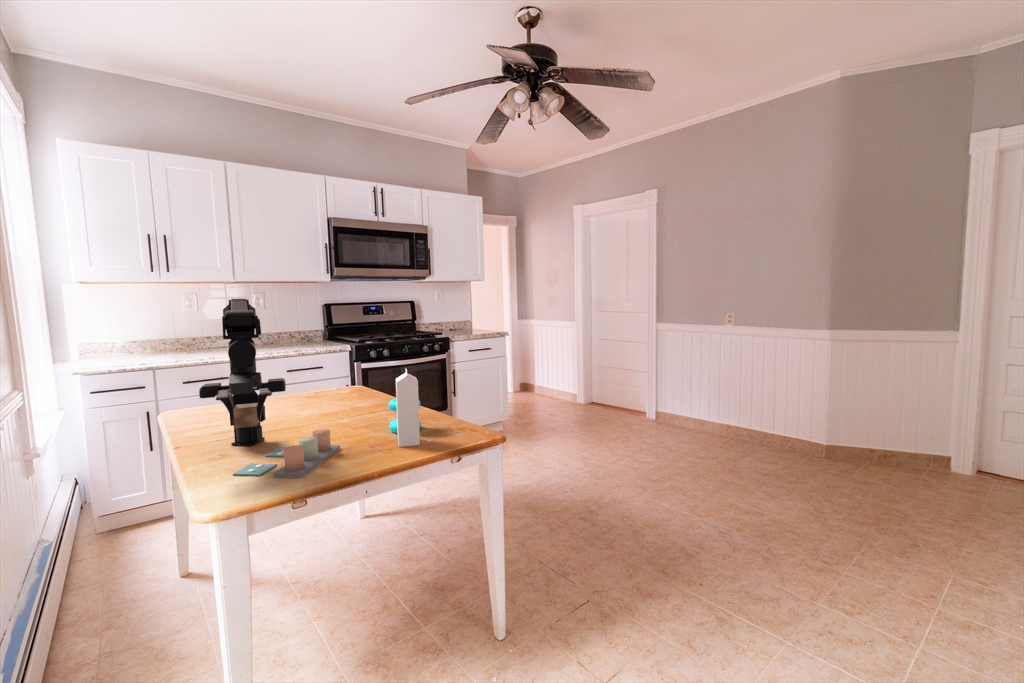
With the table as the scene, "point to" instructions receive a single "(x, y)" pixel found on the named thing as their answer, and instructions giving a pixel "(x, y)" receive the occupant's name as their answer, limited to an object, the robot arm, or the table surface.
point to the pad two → (255, 469)
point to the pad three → (276, 452)
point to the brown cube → (245, 415)
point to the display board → (307, 464)
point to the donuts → (394, 423)
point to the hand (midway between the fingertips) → (246, 420)
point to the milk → (407, 410)
